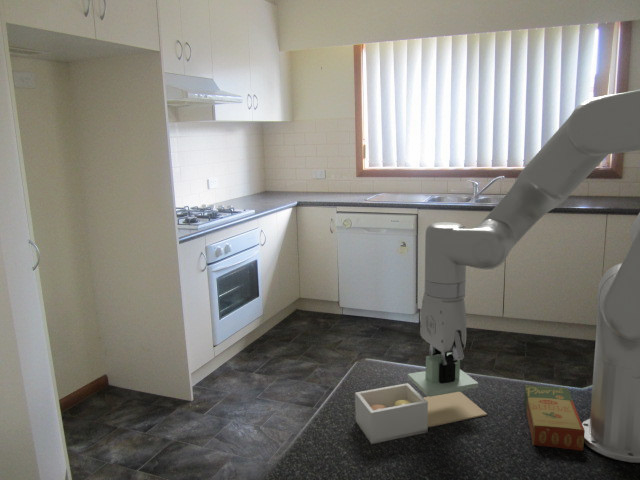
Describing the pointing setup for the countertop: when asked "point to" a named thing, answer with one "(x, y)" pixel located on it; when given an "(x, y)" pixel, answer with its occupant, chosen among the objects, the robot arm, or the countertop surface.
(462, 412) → the mat
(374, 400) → the tub
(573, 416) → the carton
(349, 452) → the countertop surface
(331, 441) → the countertop surface
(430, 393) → the lid
